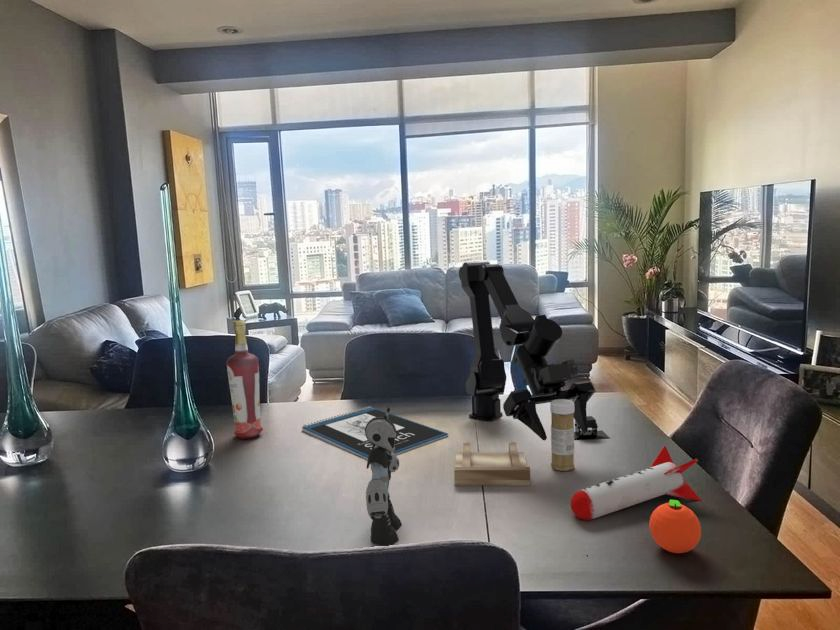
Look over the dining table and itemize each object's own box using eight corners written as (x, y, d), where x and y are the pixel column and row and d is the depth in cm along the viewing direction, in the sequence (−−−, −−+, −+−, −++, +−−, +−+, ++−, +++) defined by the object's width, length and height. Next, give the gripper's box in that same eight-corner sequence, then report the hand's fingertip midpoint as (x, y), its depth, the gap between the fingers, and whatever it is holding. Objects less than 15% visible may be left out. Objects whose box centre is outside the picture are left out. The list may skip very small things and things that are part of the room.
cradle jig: (456, 456, 123) (455, 443, 123) (523, 456, 122) (523, 442, 122) (454, 485, 110) (454, 470, 109) (530, 485, 108) (530, 469, 108)
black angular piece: (607, 431, 137) (607, 412, 136) (619, 442, 130) (619, 422, 129) (554, 433, 137) (555, 414, 136) (563, 444, 129) (563, 424, 129)
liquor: (269, 436, 140) (260, 321, 136) (239, 443, 136) (229, 324, 132) (257, 428, 146) (248, 318, 142) (228, 435, 142) (218, 321, 138)
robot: (378, 503, 103) (373, 394, 100) (406, 503, 103) (401, 393, 100) (360, 567, 84) (352, 433, 81) (394, 567, 84) (387, 432, 81)
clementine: (646, 531, 91) (647, 488, 90) (695, 536, 89) (696, 492, 88) (650, 559, 83) (651, 512, 82) (704, 566, 81) (706, 517, 80)
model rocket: (547, 490, 102) (568, 465, 94) (651, 458, 110) (678, 432, 103) (578, 551, 96) (603, 529, 88) (685, 512, 104) (717, 488, 97)
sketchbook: (374, 466, 122) (374, 456, 122) (300, 432, 144) (299, 424, 144) (448, 438, 136) (448, 429, 136) (370, 411, 158) (369, 404, 158)
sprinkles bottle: (565, 461, 119) (565, 397, 117) (579, 469, 115) (579, 403, 113) (546, 465, 117) (545, 400, 115) (559, 473, 113) (558, 406, 111)
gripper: (508, 351, 114) (538, 423, 105) (590, 342, 120) (625, 409, 111) (491, 382, 122) (518, 450, 113) (568, 371, 128) (599, 436, 119)
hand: (566, 435), depth 114 cm, fingers open, 9 cm apart
